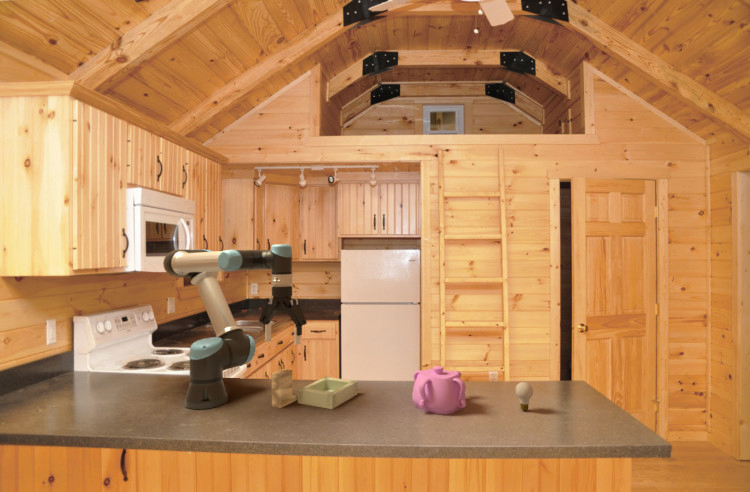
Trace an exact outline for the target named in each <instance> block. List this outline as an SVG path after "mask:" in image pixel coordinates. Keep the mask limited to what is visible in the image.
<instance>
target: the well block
mask: <svg viewBox="0 0 750 492" xmlns="http://www.w3.org/2000/svg"><path fill="white" fill-rule="evenodd" d="M358 381H359V380H357V381H356V380H351V379H344V378H337V377H331V376H324V377H322V378H320V379H318V380H316V381H314V382H311V383H310V384H307V385H305V386H302V387H301V388H299V389H297V404H301V405H306V406H312V407H318V408H324V409H328V410H333V409H335V408H337V407H339V406H340V405H342V404H344V403H345V402H347V401H348V400H350V399H352V398H354V397H355V396H357V395H358V393H359V391H358V389H359V385H358Z"/></svg>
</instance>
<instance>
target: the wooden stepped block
mask: <svg viewBox="0 0 750 492" xmlns="http://www.w3.org/2000/svg"><path fill="white" fill-rule="evenodd" d="M296 401H298V395H295V394H293V369H289V368H286V369H285V368H283V369H280V370H278V371H275V372H272V373H271V407H272V408H277V409H282V408H284V407H285V406H288V405H290V404H292V403H293V402H296Z"/></svg>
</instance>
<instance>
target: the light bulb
mask: <svg viewBox="0 0 750 492" xmlns="http://www.w3.org/2000/svg"><path fill="white" fill-rule="evenodd" d="M515 394H516V396H517V397H518V399H519V404H520V410H522V411H523V412H526V411H528V410H529V404H530V400H531V398H532V397H533V395H534V389H533V387H532V385H531V384H530V383H528V382H525V381H521V382H519V383H517V385H516V386H515Z"/></svg>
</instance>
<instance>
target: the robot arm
mask: <svg viewBox="0 0 750 492" xmlns="http://www.w3.org/2000/svg"><path fill="white" fill-rule="evenodd" d="M292 248H293V247H292V245H290V244H288V243H287V244H285V243H284V244H283V243H280V244H272V245H271V249H227V250H226V249H225V250H219V251H218V250H217V251H212V250H211V249H203V248H201V249H200V248H199V249H175V250H172V251H170V252H168V253H167V254H166V255H165V257H164V259H163V264H162V265H163V268H164V271H165V272H166V273H167V274H168V275H169V276H171V277H174V278H188V279H189V281H190V283H191V285H193V286H196V288H197V290H198V293H199V297H200V298H201V301H202V303H203V305H204V309H205V310H206V313H207V315H208V318H209V320H210V322H211V325H212V328H213V330H214V332H215V335H216V336H214V337H213V336H212V337H211V336H210V337H206V338H202V339H198V340H196V341H194V342H193V343H191V346H190V348H189V354H188V357H189V385H188V389H187V392H186V396H185V397H184V406H185V408H188V409H191V410H205V409H206V410H207V409H213V408H217V407H219V406H220V407H221V406H222V405H225V404H226V403H227V402H228V401H229V399H228V397H229V396H228V392H227V390H226V386H225V384H224V380H223V379H224V378H223V375H224V374H223V373H224V371H226V370H229V369H233V368H236V367H242V366H244V365H246V364H249V363H251V361H252V360H253V359H254V357H255V353H256V341H255V339H254V337H252V336H250V334H245V332H244V330H243V328H242V327H239V326H237V323H236V321H235V318H234V316H233V314H232V311H231V308H230V307H229V304H228V302H227V299H226V298H225V295H224V293H223V290H222V287H221V285H220V283H219V281H218V276H219V272H241V271H258V270H259V271H260V270H268V271H269V270H271V285H272V287H271V296H272V297H268V298H267V297H266V298H265V305H264V307H263V309H262V311H261V315H260V316H259V318H258V321H259V323H262V324H263V332H264V343H269V342H272V323H271V321H272V319H273V318H274V317H275V315H276V314H277V312H279V311H281V312H286V313H287V314H288V316H289V318H290V320H292V322H293V323H294V325H295V326H294V327H293V331H294V332H293V336H294V337H293V343H294V346H298V345H301V336H302V335H303V326H305V325H307V319H306V318H305V316H304V312H303V310H302V307H301V305H300V299H299V298H295V299H293V298H292V296H293V286H292V285H293V249H292ZM272 305H273V306H272Z"/></svg>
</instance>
